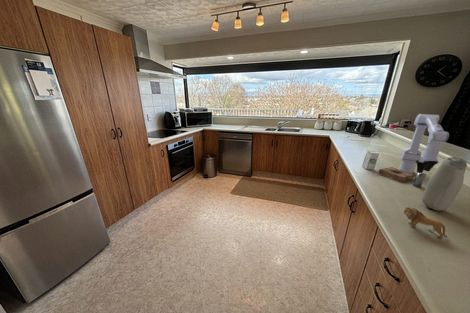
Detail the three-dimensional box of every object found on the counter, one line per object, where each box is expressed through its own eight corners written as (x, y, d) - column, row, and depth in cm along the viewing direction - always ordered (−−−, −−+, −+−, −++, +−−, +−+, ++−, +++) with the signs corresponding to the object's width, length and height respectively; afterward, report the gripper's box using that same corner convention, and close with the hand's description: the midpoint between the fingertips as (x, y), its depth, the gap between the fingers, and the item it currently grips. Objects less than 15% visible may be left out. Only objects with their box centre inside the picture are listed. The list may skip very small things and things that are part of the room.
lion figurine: (399, 225, 77) (406, 208, 74) (398, 218, 80) (405, 202, 77) (448, 242, 68) (459, 224, 65) (445, 234, 72) (454, 217, 69)
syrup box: (369, 167, 140) (374, 150, 135) (373, 170, 134) (379, 152, 129) (361, 166, 140) (366, 150, 135) (366, 169, 135) (371, 152, 130)
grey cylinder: (414, 184, 114) (419, 171, 111) (422, 187, 110) (428, 174, 107) (410, 185, 112) (416, 172, 109) (418, 188, 109) (424, 175, 106)
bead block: (390, 171, 133) (391, 167, 132) (412, 179, 121) (414, 174, 119) (378, 173, 129) (379, 169, 127) (400, 181, 116) (401, 177, 115)
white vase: (451, 216, 83) (480, 163, 73) (422, 209, 88) (446, 158, 78) (442, 206, 91) (467, 157, 81) (415, 200, 96) (437, 153, 86)
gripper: (433, 154, 97) (424, 175, 102) (447, 152, 102) (438, 172, 106) (418, 150, 103) (409, 170, 108) (431, 148, 108) (423, 168, 113)
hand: (422, 171), depth 108 cm, fingers open, 7 cm apart
